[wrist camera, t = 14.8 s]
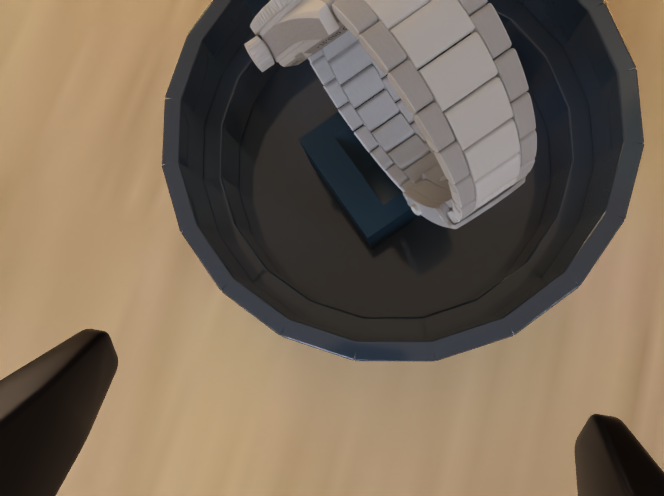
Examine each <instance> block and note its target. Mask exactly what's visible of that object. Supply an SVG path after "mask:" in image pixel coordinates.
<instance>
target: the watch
mask: <svg viewBox="0 0 664 496" xmlns="http://www.w3.org/2000/svg"><path fill="white" fill-rule="evenodd" d="M486 3H487V0H270V1H269V2H268V3H267V4H266V5H265V6H264V7H263V8H262V9H261V10H260V11H259V12H258V13H257V14H256V16H255V17H254V19H253V20H252V22H251V24H250V28H251V29H252V31H253V32H254V34H255V35H260V36H261V37H262V40H261V39H260V38H259V37H258V36H255V37H254V38H252V39H251V40H249V41H248V42H247V43H245V44H244V45H245V48H246V50H247V52H248V54H249V56H250V57H251V59H252V60H253V62H254V63H255V65H256V66H257V67H258V68H259V69H260V70H261V71H262V72H264V71H265V70H267V69H268V68H269V67H271V66H272V65H274V64H275V62H274V60H273V58H274V59H275V61H276V62H277V63H278V62H279V64H280V65H281V66H283V67H288V66H295V65H299V64H300V63H302V62H303V61H305V60H306V59H308V60H309V61H310V64H311V66H312V68H313V70H314V71H315V73H316V75H317V76H318V78H319V80H320V81H321V83H322V84H323V85H324V86H323V87H324V89H325V90H326V92H327V94H328V95H329V97H330V98H331V100H332V101H333V103H334V104H335V106H336V107H337V108H339V109H338V112H337V113H335V114H334V115H333V116H331V117H330V118H328V119H327V120H325V121H324V122H322V123H321V124H320V125H318V126H317V127H315V128H314V129H312V130H311V131H310V132H308V133H307V134H305V135H304V136H302V137H301V138H299V141H300V143H301V145H302V147H303V149H304V151H305V153H306V155H307V157H308V159H309V161H310V163H311V165H312V166H313V168H314V169H315V171H316V172H317V173H318V175H319V176H320V178H321V179H322V181H323V182H324V183H325V185H326V186H327V188H328V189H329V191H330V192H331V193H332V195H333V196H334V198H335V199H336V201H337V202H338V203H339V205H340V206H341V208H342V209H343V211H344V212H345V213H346V215H347V216H348V218H349V219H350V221H351V222H352V223H353V225H354V226H355V228H356V229H357V231H358V232H359V233H360V235H361V236H362V238H363V239H364V241H365V242H366V243H367V245H368V246H369V248H370V249H371V250H372V249H374V248H375V247H376V246H378V245H379V244H381V243H382V242H384V241H385V240H387V239H388V238H390V237H391V236H392V235H394V234H395V233H397V232H398V231H400V230H401V229H403V228H404V227H406V226H407V225H408V224H410V223H411V222H413V221H414V220H416V219H417V218H419V217H420V216H423V217H425V218H426V219H428V220H429V221H431V222H433V223H435V224H437V225H440V226H443V227H447V228H452V229H458V228H459V227H461V226H463V225H464V224H466V223H468V222H469V221H471V220H472V219H474V218H475V217H477V216H479V215H480V214H482V213H483V212H485V211H486V210H488V209H489V208H491V207H492V206H494V205H495V204H497V203H498V202H499V201H501V200H502V199H504V198H505V197H506V196H508V195H509V194H511V193H512V192H513V191H515V190H516V189H517V188H518V187H520V186H521V185H522V184H523V183H525V178H526V177H525V176H527V174H528V173H529V172H530V171H531V169H532V167H533V165H534V162H535V159H534V158H535V156H536V150H537V134H536V131H535V128H536V123H535V116H534V110H533V105H532V101H531V97H530V94H529V93H528V92H526V91H528V84H527V80H526V77H525V74H524V71H523V68H522V65H521V62H520V60H519V57H518V55H517V52H516V50H515V49H514V48H511V49H508V48H510V47H511V45H512V44H511V41H510V38H509V36H508V34H507V32H506V30H505V28H504V26H503V24H502V22H501V20H500V18H499V16H498V14H497V12H496V10H495V9H494V7H493V5H492V4H491V3H488V4H487V5H486ZM479 9H480V10H479ZM476 11H477V12H476ZM470 33H471V35H469V36H468V37H466V38H465V39H464V40H462V41H461V42H459V43H458V44H456V45H455V46H453V47H452V48H451V49H449V50H448V51H446V52H445V53H443V54H442V55H440V56H439V57H438V58H436V59H434V58H435V57H436V56H438V55H439V54H441V53H442V52H444V51H445V50H447V49H448V48H449V47H451V46H452V45H454V44H455V43H457V42H458V41H460V40H461V39H462V38H464V37H465V36H467V35H468V34H470ZM507 49H508V50H507ZM506 50H507V51H506ZM504 51H505V52H504ZM503 52H504V53H503ZM501 53H502V54H501ZM500 54H501V55H500ZM498 55H499V56H498ZM497 56H498V57H497ZM495 57H497V58H495ZM494 58H495V59H494ZM493 59H494V60H493ZM404 61H405V62H404ZM370 64H372V65H370ZM369 65H370V66H369ZM367 66H368V67H367ZM366 67H367V68H366ZM394 68H395V69H394ZM363 69H364V70H363ZM391 70H392V71H391ZM360 71H361V72H360ZM357 73H358V74H357ZM356 74H357V75H356ZM387 74H388V75H387ZM354 75H355V76H354ZM386 75H387V76H386ZM353 76H354V77H353ZM384 76H385V77H384ZM383 77H384V78H383ZM350 78H351V79H350ZM381 78H383V79H381ZM491 78H492V79H491ZM347 80H348V81H347ZM488 80H489V81H488ZM346 81H347V82H346ZM344 82H345V83H344ZM485 82H486V83H485ZM343 83H344V84H343ZM484 83H485V84H484ZM340 85H341V86H340ZM481 85H482V86H481ZM478 87H479V88H478ZM475 89H476V90H475ZM472 91H473V92H472ZM471 92H472V93H471ZM469 93H470V94H469ZM468 94H469V95H468ZM465 96H466V97H465ZM347 102H348V103H347ZM345 103H347V104H345ZM344 104H345V105H344ZM342 105H344V106H342ZM341 106H342V107H341ZM340 107H341V108H340Z"/></svg>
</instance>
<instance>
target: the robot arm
mask: <svg viewBox="0 0 664 496" xmlns="http://www.w3.org/2000/svg"><path fill="white" fill-rule="evenodd" d="M117 366H118V357H117V354H116V352H115V349H114V346H113V344H112V341H111V338H110V336H109V334H108V333H107V332H105V331H100V330H94V329H85V330H83V331H81V332H79V333H77V334H76V335H74V336H72V337H71V338H69V339H67V340H66V341H64V342H63V343H61V344H59V345H58V346H56V347H54V348H53V349H51V350H49V351H48V352H46V353H45V354H43V355H41V356H40V357H38V358H36V359H35V360H33V361H31V362H30V363H28V364H27V365H25V366H23V367H22V368H20V369H18V370H17V371H15V372H13V373H12V374H10V375H9V376H7V377H5V378H4V379H2V380H0V496H56V494H57V492H58V490H59V488H60V487H61V485H62V483H63V481H64V479H65V478H66V476H67V474H68V472H69V470H70V469H71V467H72V465H73V463H74V462H75V460H76V458H77V456H78V454H79V453H80V451H81V449H82V447H83V445H84V443H85V441H86V439H87V437H88V435H89V433H90V430H91V428H92V426H93V424H94V421H95V419H96V417H97V414H98V412H99V410H100V407H101V405H102V403H103V400H104V398H105V396H106V393H107V391H108V389H109V386H110V384H111V382H112V380H113V377H114V375H115V373H116V370H117ZM575 463H576V476H577V489H578V496H664V472H663V471H662V470H661V468H660V467H659V466H658V465H657V463H656V462H655V461H654V460H653V458H652V457H651V456H650V455H649V454H648V452H647V451H646V450H645V449H644V447H643V446H642V445H641V444H640V442H639V441H638V440H637V439H636V437H635V436H634V435H633V434H632V433H631V431H630V430H629V429H628V428H627V426H626V425H625V424H624V423H623V422H622V421H621V420H620V419H618V418H616V417H612V416H606V415H600V414H594V415H592V416H590V418H589V419H588V421H587V422H586V424H585V426H584V427H583V429H582V431H581V432H580V434H579V436H578V437H577V440H576V443H575Z"/></svg>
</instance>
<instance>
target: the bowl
mask: <svg viewBox="0 0 664 496" xmlns="http://www.w3.org/2000/svg"><path fill="white" fill-rule="evenodd" d="M269 1H270V0H213V1H212V2H211V3H210V5H209V6H208V7H207V9H206V10H205V12H204V13H203V14H202V16H201V17H200V18H199V20H198V21H197V22H196V24H195V25H194V26H193V28H192V29H191V30H190V32H189V33H188V34H189V35H187V38H186V41H185V43H184V46H183V49H182V52H181V54H180V57H179V60H178V63H177V65H176V68H175V71H174V74H173V76H172V79H171V82H170V85H169V88H168V90H167V93H166V96H165V98H166V99H165V110H164V133H163V157H162V165H163V166H162V168H163V172H164V175H165V179H166V182H167V186H168V189H169V193H170V196H171V200H172V203H173V207H174V211H175V214H176V218H177V221H178V225H179V228H180V231H181V232H182V235H183V236H184V238H185V239H186V241H187V242H188V244H189V245H190V246H191V248H192V249H193V251H194V252H195V254H196V255H197V257H198V258H199V260H200V261H201V263H202V264H203V266H204V267H205V268H206V270H207V271H208V273H209V274H210V276H211V277H212V279H213V280H214V282H215V283H216V285H217V286H218V287H219V289H220V290H221V291H222V292H223V293H224V294H225V295H227V296H228V297H229V298H231V299H232V300H233V301H235V302H236V303H237V304H239V305H240V306H241V307H243V308H244V309H245V310H246V311H248V312H249V313H250V314H252V315H253V316H254V317H256V318H257V319H258V320H260V321H261V322H262V323H264V324H265V325H266V326H268V327H269V328H270V329H272V330H273V331H274V332H276V333H277V334H278V335H282V337H284V338H287V339H290V340H293V341H296V342H299V343H302V344H305V345H308V346H311V347H314V348H317V349H320V350H323V351H326V352H329V353H332V354H335V355H338V356H341V357H344V358H347V359H350V360H355V361H435V360H436V361H438V360H441V359H444V358H447V357H450V356H453V355H456V354H459V353H463V352H466V351H469V350H472V349H475V348H478V347H481V346H484V345H487V344H490V343H493V342H496V341H499V340H502V339H505V338H508V337H511V336H513V335H515V334H517V333H518V332H519V331H521V330H522V329H523V328H525V327H526V326H527V325H529V324H530V323H531V322H533V321H534V320H535V319H537V318H538V317H539V316H541V315H542V314H543V313H545V312H546V311H548V310H549V309H550V308H552V307H553V306H554V305H556V304H557V303H558V302H560V301H561V300H562V299H564V298H565V297H566V296H568V295H569V294H570V293H572V292H573V291H574V290H576V289H577V288H578V287H579V286H580V285H581V284H582V282H583V281H584V279H585V278H586V277H587V275H588V274H589V272H590V271H591V269H592V268H593V266H594V265H595V263H596V262H597V260H598V259H599V257H600V256H601V254H602V253H603V251H604V250H605V248H606V247H607V246H608V244H609V243H610V241H611V240H612V238H613V237H614V235H615V234H616V232H617V231H618V229H619V228H620V226H621V225H622V223H623V222H624V219H625V218H626V214H627V210H628V206H629V202H630V198H631V194H632V190H633V187H634V183H635V179H636V175H637V171H638V167H639V163H640V159H641V155H642V151H643V147H644V144H643V143H644V138H643V128H642V118H641V108H640V98H639V88H638V78H637V70H636V66H635V64H634V62H633V60H632V58H631V56H630V54H629V52H628V50H627V48H626V46H625V43H624V41H623V39H622V37H621V35H620V33H619V31H618V29H617V27H616V25H615V23H614V21H613V18H612V16H611V14H610V12H609V10H608V8H607V6H606V4H605V3H604V1H603V0H487V3H486V5H487V4H488V3H491V4H492V5H493V7H494V9H495V10H496V12H497V14H498V16H499V18H500V20H501V22H502V24H503V26H504V28H505V30H506V32H507V34H508V36H509V38H510V41H511V44H512V45H511V47H510V48H508V49H511V48H514V49H515V50H516V52H517V55H518V57H519V60H520V62H521V65H522V68H523V71H524V74H525V77H526V80H527V84H528V91H526V92H528V93H529V94H530V97H531V101H532V105H533V110H534V116H535V123H536V128H535V131H536V134H537V150H536V156H535V158H534V159H535V162H534V165H533V167H532V169H531V171H530V172H529V173H528V174H527V176H525V177H526V178H525V183H523V184H522V185H521V186H520V187H518V188H517V189H516V190H515V191H513V192H512V193H511V194H509V195H508V196H506V197H505V198H504V199H502V200H501V201H499V202H498V203H497V204H495V205H494V206H492V207H491V208H489V209H488V210H486V211H485V212H483V213H482V214H480V215H479V216H477V217H475V218H474V219H472V220H471V221H469V222H468V223H466V224H464V225H463V226H461V227H459V228H458V229H452V228H447V227H443V226H440V225H437V224H435V223H433V222H431V221H429V220H428V219H426V218H425V217H423V216H420V217H419V218H417V219H416V220H414V221H413V222H411V223H410V224H408V225H407V226H406V227H404V228H403V229H401V230H400V231H398V232H397V233H395V234H394V235H392V236H391V237H390V238H388V239H387V240H385V241H384V242H382V243H381V244H379V245H378V246H376V247H375V248H374V249H372V250H371V249H370V248H369V246H368V245H367V243H366V242H365V241H364V239H363V238H362V236H361V235H360V233H359V232H358V231H357V229H356V228H355V226H354V225H353V223H352V222H351V221H350V219H349V218H348V216H347V215H346V213H345V212H344V211H343V209H342V208H341V206H340V205H339V203H338V202H337V201H336V199H335V198H334V196H333V195H332V193H331V192H330V191H329V189H328V188H327V186H326V185H325V183H324V182H323V181H322V179H321V178H320V176H319V175H318V173H317V172H316V171H315V169H314V168H313V166H312V165H311V163H310V161H309V159H308V157H307V155H306V153H305V151H304V149H303V147H302V145H301V143H300V141H299V138H301V137H302V136H304V135H305V134H307V133H308V132H310V131H311V130H312V129H314V128H315V127H317V126H318V125H320V124H321V123H322V122H324V121H325V120H327V119H328V118H330V117H331V116H333V115H334V114H335V113H337V112H338V109H339V108H337V107H336V106H335V104H334V103H333V101H332V100H331V98H330V97H329V95H328V94H327V92H326V90H325V89H324V87H323V86H324V85H323V84H322V83H321V81H320V80H319V78H318V76H317V75H316V73H315V71H314V70H313V68H312V66H311V64H310V61H309V60H308V59H306V60H305V61H303V62H302V63H300V64H299V65H295V66H288V67H283V66H281V65H280V64H279V62H278V63H277V62H276V61H275V59H274V58H273V60H274V62H275V64H274V65H272V66H271V67H269V68H268V69H267V70H265V71H264V72H262V71H261V70H260V69H259V68H258V67H257V66H256V65H255V63H254V62H253V60H252V59H251V57H250V56H249V54H248V52H247V50H246V48H245V45H244V44H245V43H247V42H248V41H249V40H251V39H252V38H254V37H255V36H258V37H259V38H260V39H261V40H262V37H261V36H260V35H255V34H254V32H253V31H252V29H251V28H250V24H251V22H252V20H253V19H254V17H255V16H256V14H257V13H258V12H259V11H260V10H261V9H262V8H263V7H264V6H265V5H266V4H267V3H268V2H269ZM479 10H480V9H479ZM476 12H477V11H476ZM469 35H471V33H470V34H468V35H467V36H465V37H464V38H462V39H461V40H460V41H458V42H457V43H455V44H454V45H452V46H451V47H449V48H448V49H447V50H445V51H444V52H442V53H441V54H439V55H438V56H436V57H435V58H434V59H436V58H438V57H439V56H440V55H442V54H443V53H445V52H446V51H448V50H449V49H451V48H452V47H453V46H455V45H456V44H458V43H459V42H461V41H462V40H464V39H465V38H466V37H468V36H469ZM508 49H507V50H508ZM507 50H506V51H507ZM504 52H505V51H504ZM504 52H503V53H504ZM501 54H502V53H501ZM501 54H500V55H501ZM498 56H499V55H498ZM498 56H497V57H498ZM497 57H495V58H497ZM495 58H494V59H495ZM494 59H493V60H494ZM404 62H405V61H404ZM370 65H372V64H370ZM370 65H369V66H370ZM367 67H368V66H367ZM367 67H366V68H367ZM394 69H395V68H394ZM363 70H364V69H363ZM391 71H392V70H391ZM360 72H361V71H360ZM357 74H358V73H357ZM357 74H356V75H357ZM387 75H388V74H387ZM387 75H386V76H387ZM354 76H355V75H354ZM354 76H353V77H354ZM384 77H385V76H384ZM384 77H383V78H384ZM383 78H381V79H383ZM350 79H351V78H350ZM491 79H492V78H491ZM347 81H348V80H347ZM347 81H346V82H347ZM488 81H489V80H488ZM344 83H345V82H344ZM344 83H343V84H344ZM485 83H486V82H485ZM485 83H484V84H485ZM340 86H341V85H340ZM481 86H482V85H481ZM478 88H479V87H478ZM475 90H476V89H475ZM472 92H473V91H472ZM472 92H471V93H472ZM469 94H470V93H469ZM469 94H468V95H469ZM465 97H466V96H465ZM347 103H348V102H347ZM347 103H345V104H347ZM345 104H344V105H345ZM344 105H342V106H344ZM342 106H341V107H342ZM341 107H340V108H341Z"/></svg>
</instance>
